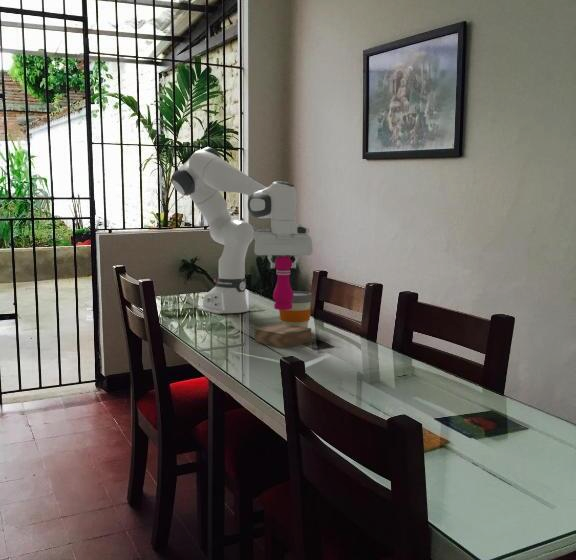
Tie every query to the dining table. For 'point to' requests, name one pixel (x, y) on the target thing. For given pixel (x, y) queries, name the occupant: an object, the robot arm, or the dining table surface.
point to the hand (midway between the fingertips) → (283, 268)
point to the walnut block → (283, 335)
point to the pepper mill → (283, 284)
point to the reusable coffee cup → (298, 310)
